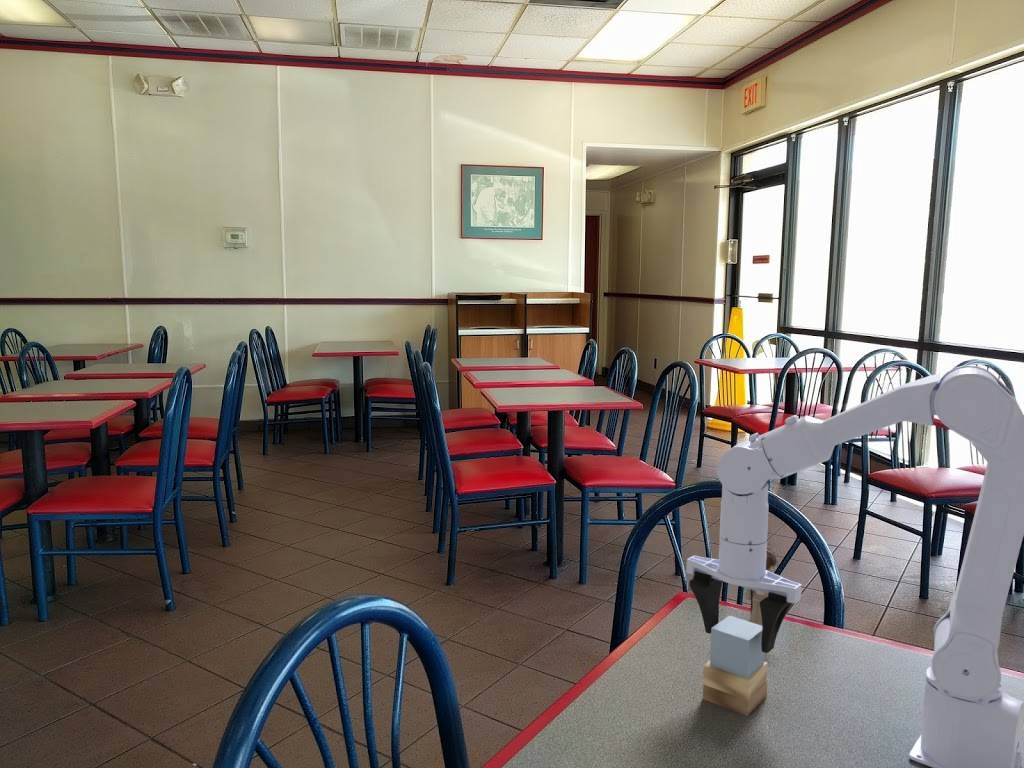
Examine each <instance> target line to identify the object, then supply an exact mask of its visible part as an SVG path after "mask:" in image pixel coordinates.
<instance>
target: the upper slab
mask: <svg viewBox="0 0 1024 768" xmlns="http://www.w3.org/2000/svg"><path fill="white" fill-rule="evenodd" d="M702 668H703V670H702V685H703V684H704V685H707V686H709V687H712V688H715V689H718V690H720V691H723V692H726V693H729V694H731V695H734V696H737V697H740V698H742V699H745V700H749V699H750V698H751V697H752V696H753V695H754V694H755V693H756V691H757V690H758V689H759V688H760V687H761V686H762V685H763V684H764V683H765V682H766V681H767V676H768V675H767V673H768V662H767V661H764V664H763V665H762V666H761V667H760V668H759V669H758V670H756V671H755V672H754V673H753V674H752V675H751V676H750V677H748V678H747V679H746V678H743V677H741V676H738V675H735V674H733V673H730V672H727V671H725V670H722V669H719V668H717V667H714V666H711V665H710V659H709V661H707V662H706V663H704V664H703V667H702Z"/></svg>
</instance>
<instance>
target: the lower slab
mask: <svg viewBox="0 0 1024 768" xmlns="http://www.w3.org/2000/svg"><path fill="white" fill-rule="evenodd" d="M702 685H703V686H702V700H705V701H707V702H710V703H712V704H715V705H718V706H721V707H722V708H725V709H727V710H731V711H732V712H735V713H739V714H741V715H743V716H746V717H748V716H750V714H751V713H752V712H753V711H754V710H755V709H756V708H757V707H759V705H760V704H761V703H762V702H763V701H764V700H765V699H766V698H767V696H768V680H766V682H765V683H764V684H763V685H762V686H761V687H760V688H759V689H758V690H757V691H756V693H755V694H754V695H753V696H752V697H751V698H750V699H749V700H745V699H742V698H740V697H737V696H734V695H731V694H729V693H726V692H723V691H720V690H718V689H715V688H712V687H709V686H707V685H704V684H703V683H702Z"/></svg>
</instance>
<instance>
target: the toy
mask: <svg viewBox="0 0 1024 768" xmlns="http://www.w3.org/2000/svg"><path fill="white" fill-rule="evenodd" d="M771 542H772V543H773V545H774V546H775V545H776V543H775V542H774V541H773V540H772V539H771ZM771 542H767V545H769V546H771V547H772V544H771ZM773 550H774V551H775V552H777V550H776V549H775V548H773ZM773 550H771V552H769V551H770V548H768V547H767V553H766V570H767V571H769V572H772V568H773V569H775V567H776V568H777V567H780V565H779V561H778V560H777V557H776V554H775V552H774V551H773ZM744 593H745V594H744V595H745V597H744V598H745V599H746V600H747V601H750V609H749V610H750V611H749V612H750V613H749V614H750V617H749V619H748V621H749V622H752V623H755V624H758V625H761V626H762V616H761V610H760V601H762V600H763V599H764V598H766V597H768V594H766V593H763V592H759V591H756V590H752V589H749V588H745V592H744Z"/></svg>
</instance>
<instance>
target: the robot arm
mask: <svg viewBox="0 0 1024 768" xmlns="http://www.w3.org/2000/svg"><path fill="white" fill-rule="evenodd" d="M940 375H941V373H940V372H939V373H936V374H933V375H929V376H928V375H927V376H925V377H922V378H919V379H915V380H913V381H910V382H907V383H904V384H901V385H899V386H897V387H895V388H893V389H891V390H888V391H885V392H884V393H881V394H879V395H877V396H875V397H872V398H871V399H868V400H866V401H863V402H862V403H859V404H857V405H855V406H853V407H850V408H849V409H847V410H844V411H842V412H839V413H838V414H837V413H836V414H835V415H833V416H831V417H828V418H826V419H819V418H817V417H813V416H811V415H804V416H802V417H800V418H799V416H798V415H797V414H795V415H792V416H789V417H787V418H786V419H785V420H784V423H785V424H784V425H782V426H779V427H776V428H774V429H772V430H770V431H767V432H765V433H763V434H759V433H758V432H756V433H753V434H750V435H749V436H748V438H749V440H745V441H742V442H738V443H737V444H736V445H734V446H733V447H731V448H730V449H729V450H727V451H725V452H724V453H723V454H722V456H721V457H720V459H719V461H718V463H717V465H716V466H717V467H716V468H717V471H716V472H717V477H718V480H719V482H720V483H721V486H722V488H721V500H720V513H719V514H720V516H719V519H720V520H719V542H718V544H719V545H718V546H719V547H718V559H716V558H710V557H702V556H699V555H692V556H690V557H689V558H686V574H690V575H693V577H692V578H691V579H690V580H689V583H688V585H689V588H690V590H691V592H692V593H693V595H694V598H695V600H696V601H697V604H698V606H699V610H700V613H701V617H702V621H703V625H704V629H705V630H704V631H705V633H706V634H709V635H711V628H712V627H714V626H715V625H717V624H718V623H719V622H720V621H719V618H720V616H719V615H720V599H721V591H722V588H723V587H722V585H723V583H728V584H729V585H730V584H731V585H734V586H738V587H742V588H745V589H747V588H749V589H752V590H756V591H759V592H763V593H766V594H768V597H766V598H764V599H763V600H762V601H760V610H761V616H762V641H761V648H762V652H765V654H769V653H770V652H771V651H773V649H774V648H775V643H776V639H777V635H778V634H779V630H780V628H781V625H782V623H783V621H784V619H785V617H786V615H787V614H788V611H789V610H790V609H791V607H792V605H795V604H797V603H798V602H799V601H800V600H801V599H802V586H803V584H802V583H799V582H796V581H793V580H790V579H787V578H785V577H783V576H781V575H778V574H777V573H774V572H772V571H771V572H769V571H767V570H766V553H767V551H768V549H767V548H768V531H769V530H768V527H769V525H768V524H769V506H770V505H769V483H768V482H769V481H770V480H771V479H772V480H781V479H784V478H786V477H788V476H791V475H793V474H796V473H799V472H801V471H803V470H804V471H805V470H806V469H809V468H812V467H815V466H817V465H819V464H822V463H824V462H825V463H826V462H828V461H829V460H830V459H831V457H832V455H833V451H834V449H835V446H837V445H840V444H843V443H845V442H848V441H851V440H853V439H857V438H859V437H863V436H865V435H867V434H870V433H873V432H877V431H879V430H883V429H885V428H887V427H890V426H892V425H895V424H899V423H900V422H909V423H913V424H920V425H924V426H933V425H934V419H935V416H937V417H938V420H940V422H941V423H942V424H943V425H944V426H945V427H947V428H948V429H950V430H951V431H953V433H954V432H955V434H957V435H959V436H961V437H963V438H964V439H966V440H967V441H969V442H970V443H971V445H972V446H973V447H974V448H975V450H977V451H978V453H979V454H980V455H981V456H982V458H984V460H985V461H986V462H987V463H986V467H985V472H984V476H983V480H982V484H981V487H980V492H979V496H978V500H977V504H976V508H975V510H974V514H973V515H974V516H973V520H972V523H971V528H970V530H969V535H968V539H967V544H966V547H965V551H964V556H963V560H962V564H961V568H960V572H959V575H958V580H957V583H956V587H955V590H954V593H953V596H951V600H950V604H949V607H948V610H947V612H946V613H945V614H944V615H942V616H941V617H940V618H938V620H937V622H936V623H935V625H934V628H933V642H934V647H933V656H932V659H931V665H930V666H928V668H927V669H926V671H925V683H924V684H925V685H924V693H923V695H924V696H923V709H922V722H921V731H920V733H921V734H920V735H919V737H918V738H917V740H916V742H915V743H914V745H913V746H912V748H911V750H910V752H909V753H908V757H909V759H910V760H912V761H915V762H917V763H919V764H922V765H925V766H928V767H929V768H930V767H931V768H1021V766H1022V758H1023V754H1022V752H1021V751H1022V742H1023V741H1022V740H1023V732H1024V702H1023V701H1022V700H1019V699H1017V698H1015V697H1013V696H1011V695H1009V694H1008V693H1006V692H1004V691H1003V689H1002V685H1001V681H1002V671H1001V667H1000V664H999V657H998V649H999V646H1000V638H1001V629H1002V622H1003V615H1004V610H1005V606H1006V602H1007V598H1008V595H1009V590H1010V587H1011V584H1012V580H1013V576H1014V573H1015V568H1016V565H1017V561H1018V558H1019V554H1020V549H1021V547H1022V542H1023V540H1024V539H1023V538H1024V412H1023V411H1022V408H1020V405H1019V403H1018V401H1017V399H1016V398H1015V395H1014V394H1013V391H1012V390H1011V389H1009V387H1007V385H1005V384H1004V383H1003V382H1002V381H1001V380H1000V379H999V378H998V377H997V376H995V374H993V372H991V371H989V370H988V369H986V368H984V367H981V366H977V365H971V364H970V365H961V366H956V367H954V368H952V369H950V370H949V371H947V372H945V374H943V376H942V377H941V376H940Z"/></svg>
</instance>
